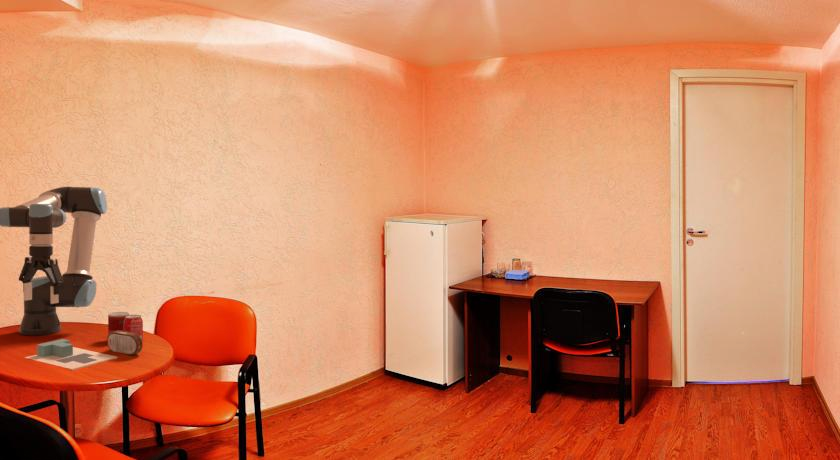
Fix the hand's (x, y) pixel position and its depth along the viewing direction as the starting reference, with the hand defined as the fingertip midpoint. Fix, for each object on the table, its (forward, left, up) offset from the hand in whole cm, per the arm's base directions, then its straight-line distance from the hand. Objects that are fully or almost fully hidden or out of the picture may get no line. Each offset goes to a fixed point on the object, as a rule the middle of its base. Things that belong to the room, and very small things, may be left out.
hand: (41, 301), depth 234 cm
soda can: (-24, +20, -20) cm, 37 cm away
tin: (-15, +26, -20) cm, 36 cm away
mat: (-1, +16, -19) cm, 25 cm away
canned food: (-27, +8, -20) cm, 34 cm away
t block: (-1, +9, -19) cm, 21 cm away
